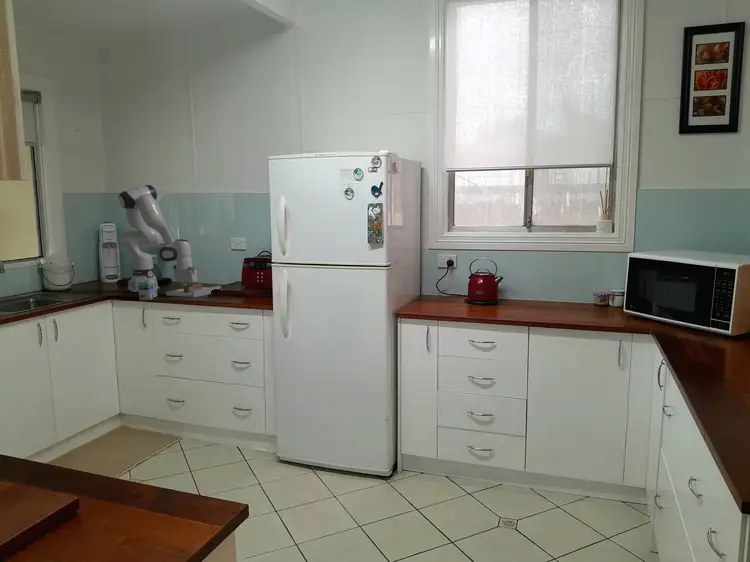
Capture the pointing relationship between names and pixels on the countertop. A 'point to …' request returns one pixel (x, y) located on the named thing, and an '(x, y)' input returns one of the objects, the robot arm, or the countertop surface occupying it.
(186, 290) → the walnut block
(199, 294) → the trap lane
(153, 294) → the light bulb box
